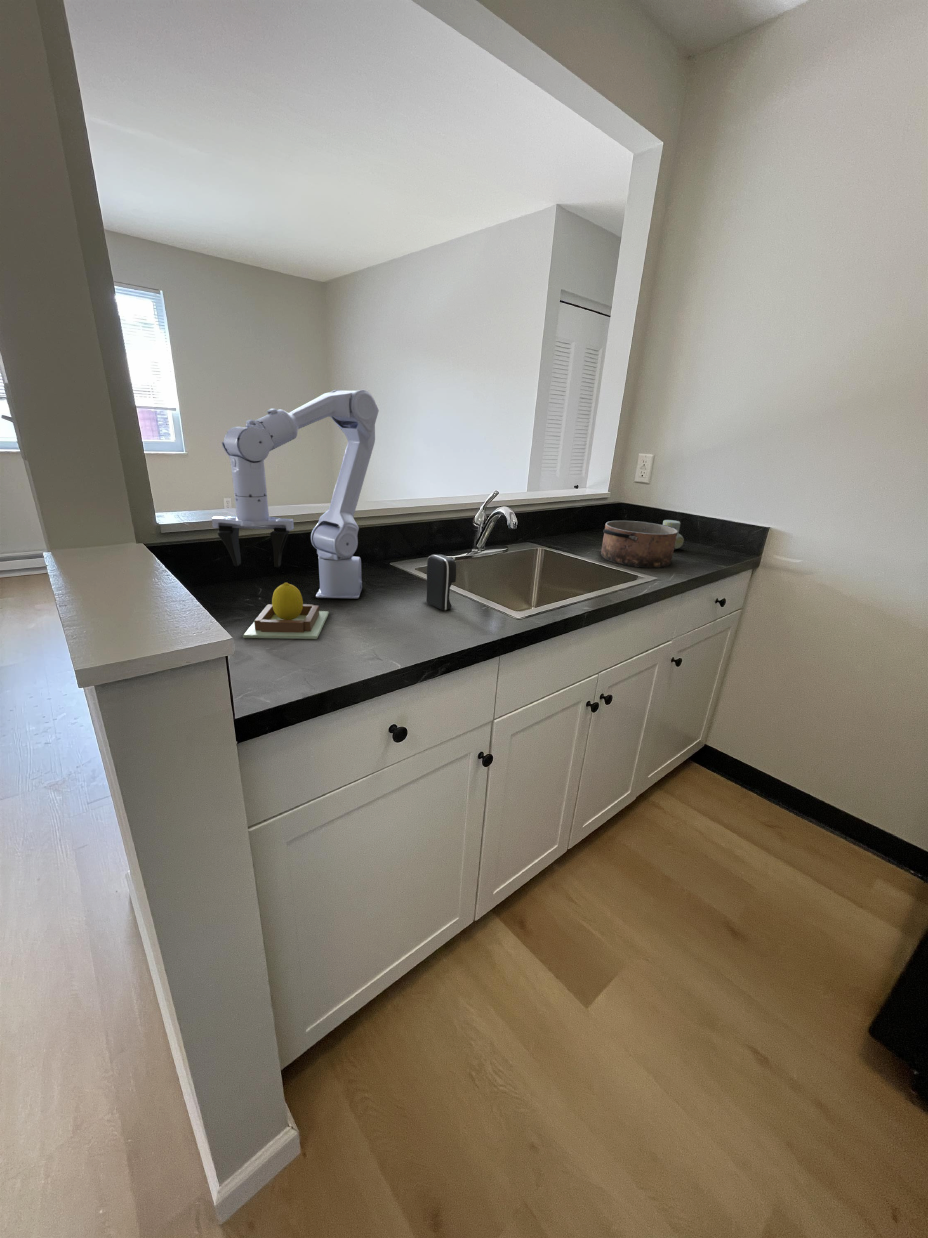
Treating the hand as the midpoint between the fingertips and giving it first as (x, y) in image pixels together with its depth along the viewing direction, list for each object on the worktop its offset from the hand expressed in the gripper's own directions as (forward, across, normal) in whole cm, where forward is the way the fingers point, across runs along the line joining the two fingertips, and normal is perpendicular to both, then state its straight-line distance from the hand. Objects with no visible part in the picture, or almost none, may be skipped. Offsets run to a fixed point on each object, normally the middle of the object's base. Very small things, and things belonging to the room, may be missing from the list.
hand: (257, 565), depth 98 cm
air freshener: (+10, +125, +74) cm, 145 cm away
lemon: (+10, +7, -7) cm, 14 cm away
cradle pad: (+10, +7, -7) cm, 14 cm away
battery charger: (+10, +37, +6) cm, 39 cm away
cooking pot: (+10, +104, +55) cm, 118 cm away
